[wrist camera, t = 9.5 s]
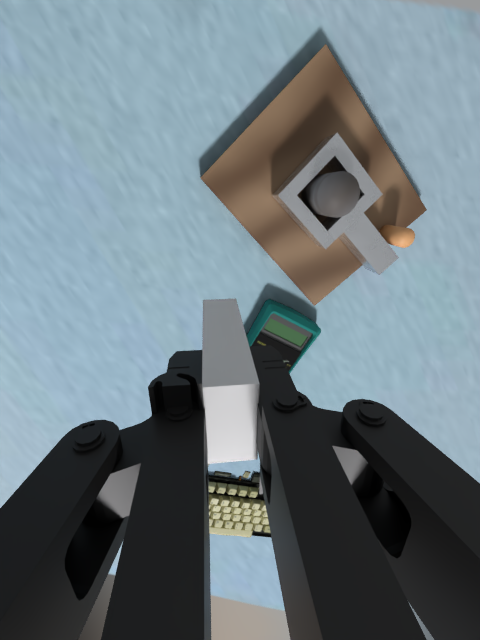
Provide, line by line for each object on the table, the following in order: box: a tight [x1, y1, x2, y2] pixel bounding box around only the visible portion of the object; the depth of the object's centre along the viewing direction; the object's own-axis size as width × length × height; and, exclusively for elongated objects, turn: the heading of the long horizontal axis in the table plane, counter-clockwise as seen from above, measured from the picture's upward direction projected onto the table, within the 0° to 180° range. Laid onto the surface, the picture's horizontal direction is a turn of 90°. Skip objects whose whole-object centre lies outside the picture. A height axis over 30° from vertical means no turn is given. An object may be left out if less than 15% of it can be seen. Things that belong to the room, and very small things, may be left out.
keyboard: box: [208, 464, 271, 537], centre depth 49 cm, size 45×15×2 cm, turn 73°
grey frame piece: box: [272, 133, 399, 275], centre depth 29 cm, size 13×7×3 cm, turn 45°
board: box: [201, 44, 426, 306], centre depth 28 cm, size 18×15×6 cm
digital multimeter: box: [246, 299, 321, 374], centre depth 37 cm, size 7×15×3 cm, turn 150°
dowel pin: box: [379, 225, 415, 248], centre depth 30 cm, size 2×2×4 cm
